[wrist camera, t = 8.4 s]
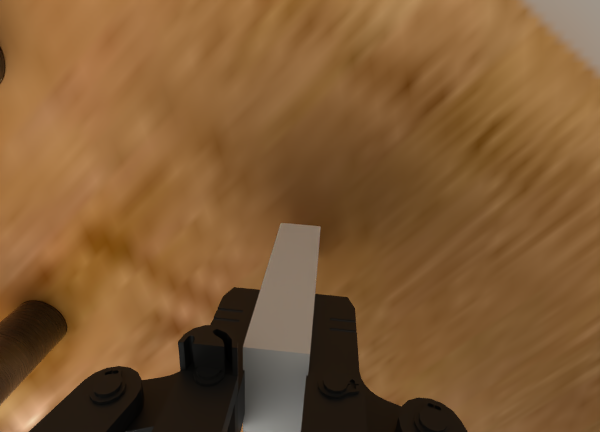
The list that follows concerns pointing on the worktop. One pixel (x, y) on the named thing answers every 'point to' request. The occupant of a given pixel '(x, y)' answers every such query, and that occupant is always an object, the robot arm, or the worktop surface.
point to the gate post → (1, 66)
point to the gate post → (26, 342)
